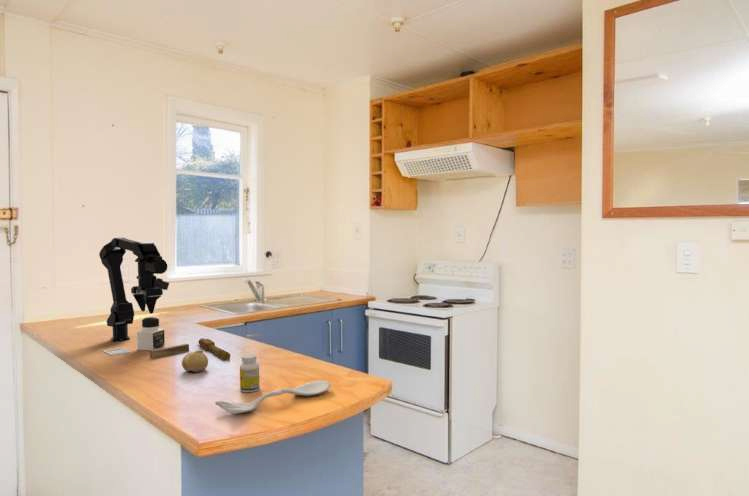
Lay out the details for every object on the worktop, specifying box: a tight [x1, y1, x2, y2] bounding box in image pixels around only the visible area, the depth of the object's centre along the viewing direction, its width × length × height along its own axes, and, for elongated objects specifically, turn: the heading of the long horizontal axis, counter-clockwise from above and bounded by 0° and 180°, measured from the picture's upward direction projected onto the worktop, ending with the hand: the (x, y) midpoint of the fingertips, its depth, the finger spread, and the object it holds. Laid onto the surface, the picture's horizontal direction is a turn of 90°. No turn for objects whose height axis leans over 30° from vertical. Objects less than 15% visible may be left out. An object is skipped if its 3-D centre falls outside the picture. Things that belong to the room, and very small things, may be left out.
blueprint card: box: [102, 347, 131, 356], centre depth 188 cm, size 10×7×1 cm
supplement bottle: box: [239, 354, 261, 394], centre depth 142 cm, size 5×5×10 cm
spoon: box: [214, 380, 332, 415], centre depth 132 cm, size 9×32×4 cm, turn 133°
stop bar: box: [149, 343, 190, 359], centre depth 184 cm, size 2×14×2 cm, turn 141°
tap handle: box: [198, 337, 231, 361], centre depth 188 cm, size 3×3×30 cm
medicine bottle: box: [136, 316, 166, 352], centre depth 193 cm, size 7×7×12 cm
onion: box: [181, 348, 209, 374], centre depth 162 cm, size 8×8×7 cm
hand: (147, 312), depth 198 cm, fingers open, 9 cm apart
